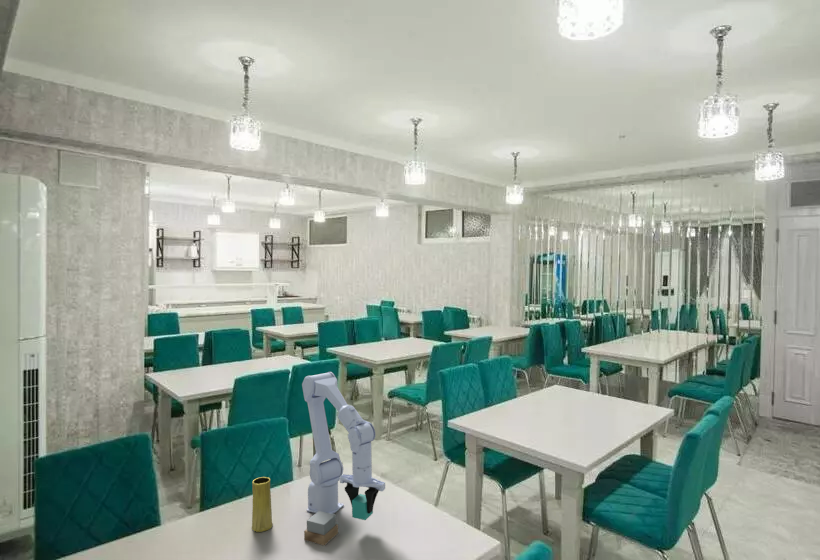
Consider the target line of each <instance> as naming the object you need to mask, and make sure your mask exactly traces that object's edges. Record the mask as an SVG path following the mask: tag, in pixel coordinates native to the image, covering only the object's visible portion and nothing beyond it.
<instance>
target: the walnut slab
mask: <svg viewBox="0 0 820 560" xmlns="http://www.w3.org/2000/svg"><path fill="white" fill-rule="evenodd" d="M303 532H304V533H303V536H304V538H303V539H304V541H307V542H310V543H313V542H314V543H315V544H318V545H322V546H326V545H327V544H328V543H329V542H330V541H332V539H334V537H336V535H338V534H339V524H337V523H336V525H335V526H334V527H333V528H332V529H331V530H330V531H328V532H327V533H326V534H325V535H321V534H318V533H314V532H310V531H307V528H306V529H305V530H304V531H303Z"/></svg>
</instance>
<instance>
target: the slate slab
mask: <svg viewBox="0 0 820 560" xmlns="http://www.w3.org/2000/svg"><path fill="white" fill-rule="evenodd" d="M336 516H337V514H335V513H334V514H330V513H326V512H322V511H318V512H317V513H313V515H312V516H311V517H309V518H308V519H307V520H306V529H307V531H310V532H314V533H318V534H321V535H325V534H326V533H327V532H328V531H330V530H331V529H332V528H333V527H334V526H335V525H336V524H337V517H336Z"/></svg>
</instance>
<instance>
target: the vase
mask: <svg viewBox="0 0 820 560" xmlns="http://www.w3.org/2000/svg"><path fill="white" fill-rule="evenodd" d="M251 484H252V485H251V486H252V510H251V511H252V513H251V514H252V516H251V530H252V531H253V530H254V531H253V532H255V531H256V532H255V533H263V531H264V532H267V531H268V530H271V528H272V527H273V519H272V516H273V512H272V494H271V493H272V492H271V478H270V477H269V476H268V477H267V476H261V477H257V478H255V479H253V480H252V483H251Z"/></svg>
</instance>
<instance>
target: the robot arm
mask: <svg viewBox="0 0 820 560" xmlns="http://www.w3.org/2000/svg"><path fill="white" fill-rule="evenodd" d="M303 378H304V379H303V381H302V383H301V387H302V392H303V398H304V401H305V402H306V403H307V407H308V408H307V409H308V413H309V421H310V426H311V433H312V437H313V442H314V444H313V445H314V449H315V454H314V455H313V457H312V458H311V459H310V461H309V479H310V480H311V481H310V483H309V485H308V487H307V508H306V511H307V512H311V513H313V514H316V513H317V512H318V511H322V512H326V513H330V514H335V513H337V512H338V511H339V510H341V508H343V507H344V506H345V505H344V503H340V502H339V483H340V484H346V485H345V487H344V491H345V493H346V494H347V496H348V499H349V501H350V505H351V506H352V500H353V499H354V498H355V497H357V496H358V495H359V494H360V493H359V492H360V488H361V487H363V488H368V489H366V490H365V491H364V495H365V496H366V500H367V513H369V514H370V513H371V512H372V511H373V512H374V505H375V501H376V498H377V496H378V493H379V492H383V491H385V490H386V482H385V481H381V480H379V479H377V478H375V477H373V473H372V472H373V471H372V470H373V466H372V465H373V464H372V463H373V462H372V442H373V441H374V440H375V439H376V430H375V429H376V428H375V427H374V425H373V423H371V422H370V421H367V420H366V419H363V417H362V416H361V415H360V413H359V412H358V410H357V409H356V408H355V406H354V405H351V404H348V402H347V401H346V399H345V398H344V396H343V394H342V393H341V391H340V389H339V387H338V378H337V377H336V375H335V374H334V373H333V372H332V371H328V372H325V373H319V374H314V375H307V376H305V377H303ZM326 399H327V400H328V401H329V402H330V403H331V405H333V408H335V410H336V411H337V412H338V414H337V418H338V419H339V421H340V423H341V424H342V425H343V427H344V428H345V430H346V432H347V433H348V434H347V440H348V441H349V444H350V445H349V446H350V451H351V452H352V453H351V456H352V457H351V458H352V459H351V461H352V466H351V467H352V470H351V471H352V474H345V473H344V466H343V465H344V464H343V462H342V461H341V460H342V459H341V457H340V454H339V453H338V452H336V451H335V450H333V449H332V444H331V437H330V433H329V427H328V420H327V416H326V409H325V404H324V402H325V400H326Z"/></svg>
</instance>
